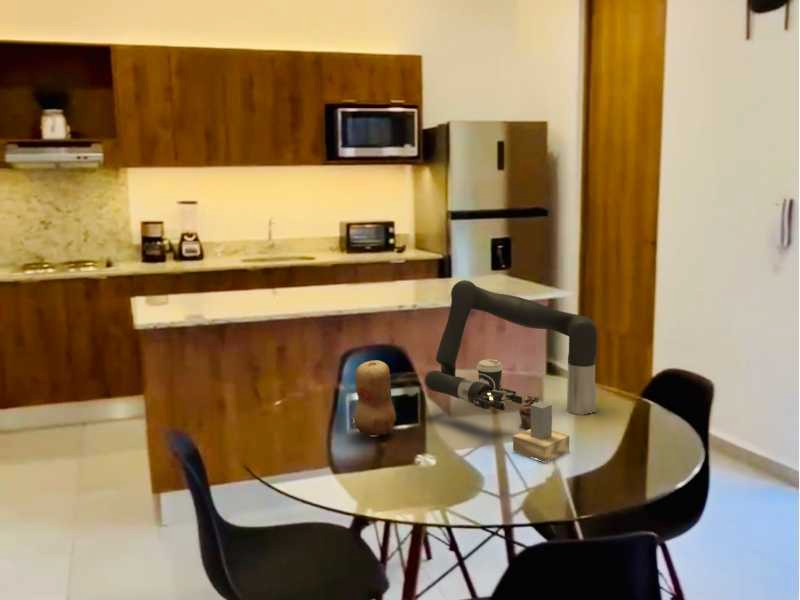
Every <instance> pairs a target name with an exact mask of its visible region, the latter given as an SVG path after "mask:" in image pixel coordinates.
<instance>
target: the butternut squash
mask: <svg viewBox="0 0 800 600" xmlns="http://www.w3.org/2000/svg"><path fill="white" fill-rule="evenodd" d="M355 390H356V393H357V394H356V395H357V398H358V399H357V403H356V407H355V410H354V415H353V422H354V426H355V427H356V429H357V430H358V431H359V432H360V433H361V434H364V435H365V434H366V436H367V435H380V436H382V435H381V434H383V435H386V434H385V433H388V432H389V433H390V432H391V431H392V429H393V428H394V425H395V422H396V420H397V414H396V410H395V406H394V404H393V401H392V386H391V369H390V368H389V366H388V364H387V363H385V361H381V360H377V359H376V360H375V359H374V360H369V361H365V362H363V363H361V364H360V365H359V366H358V367H357V369H356V371H355ZM389 433H388V434H389Z"/></svg>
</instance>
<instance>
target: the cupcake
mask: <svg viewBox="0 0 800 600" xmlns="http://www.w3.org/2000/svg"><path fill="white" fill-rule="evenodd" d="M540 401H541V402H543V401H542V400H540V397H538V396H537V397H535V396H534V398H533V397H532V396H530V395H528V396H526V398H525V399H523V401H522V403H521V406H520V408H519V413H518V414H519V416H520V421H521V426H522V428H523V429H525V430H526V431H527V430H529V429H531V405H532V404H534V403H537V402H540Z"/></svg>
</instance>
